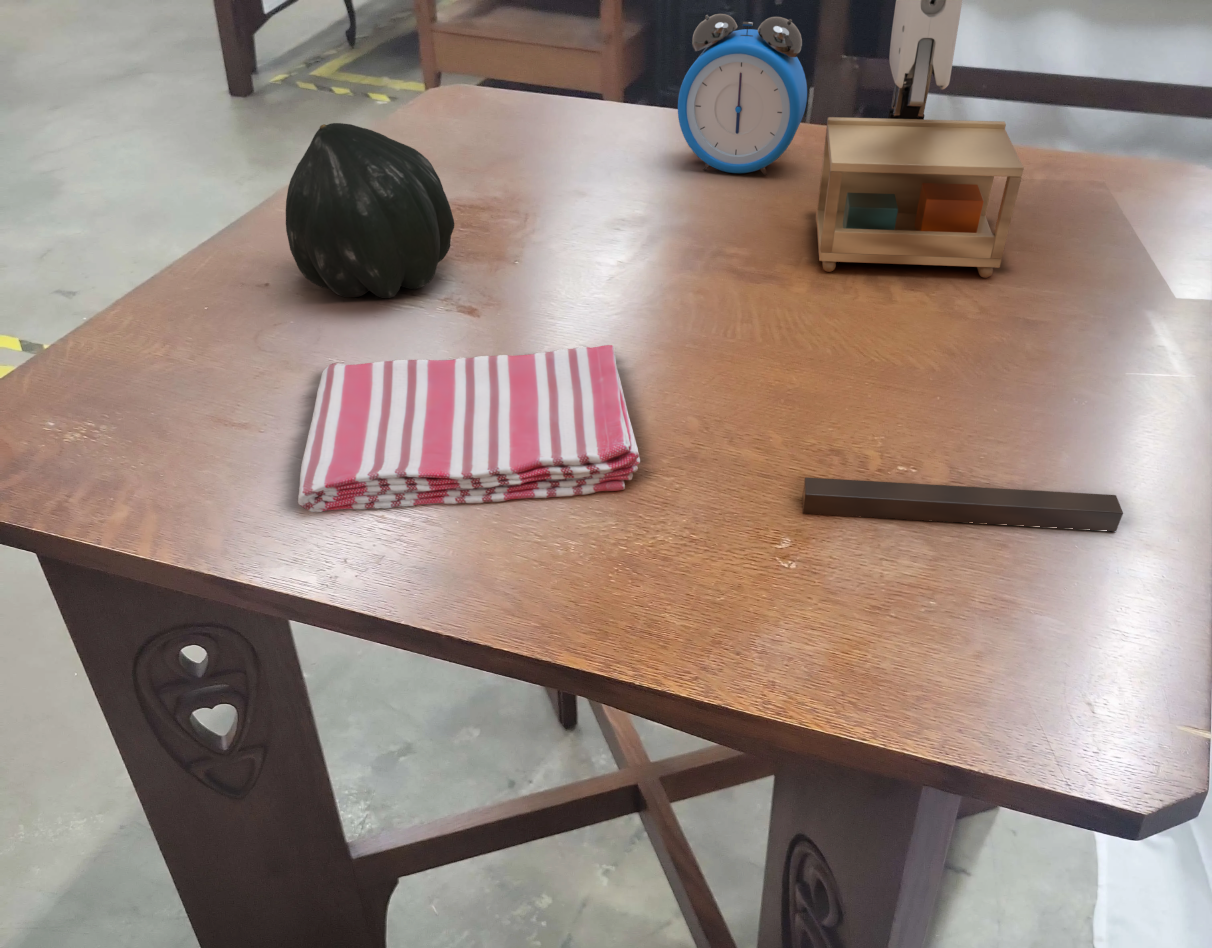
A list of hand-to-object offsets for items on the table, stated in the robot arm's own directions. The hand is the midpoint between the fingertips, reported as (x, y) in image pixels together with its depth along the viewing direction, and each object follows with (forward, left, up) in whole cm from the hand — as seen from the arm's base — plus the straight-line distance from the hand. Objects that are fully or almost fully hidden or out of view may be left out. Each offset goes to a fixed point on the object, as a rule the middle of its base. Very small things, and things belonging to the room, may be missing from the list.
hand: (899, 154), depth 105 cm
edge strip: (0, +53, -5) cm, 53 cm away
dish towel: (+34, +47, -6) cm, 58 cm away
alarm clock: (+16, -10, -6) cm, 20 cm away
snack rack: (0, +12, -5) cm, 13 cm away
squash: (+48, +22, -6) cm, 53 cm away
